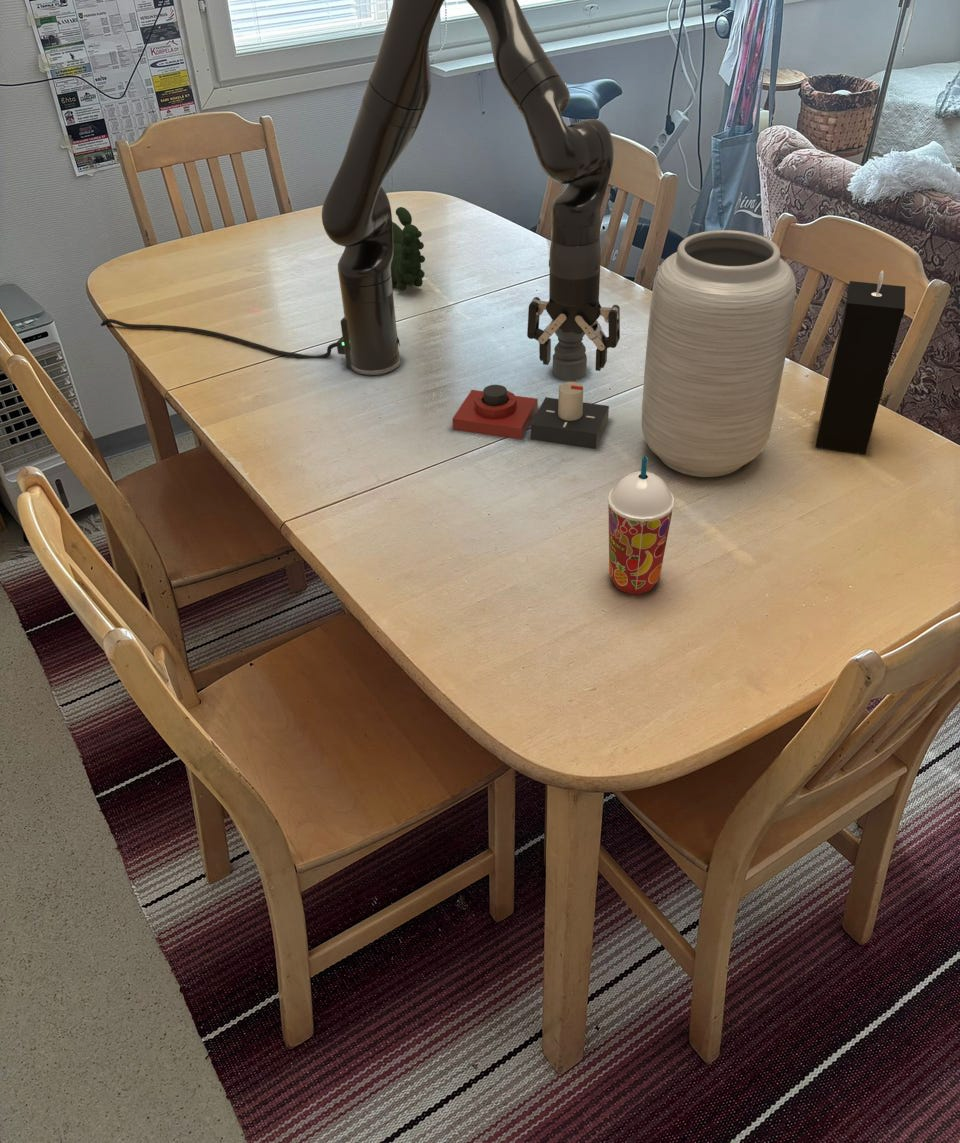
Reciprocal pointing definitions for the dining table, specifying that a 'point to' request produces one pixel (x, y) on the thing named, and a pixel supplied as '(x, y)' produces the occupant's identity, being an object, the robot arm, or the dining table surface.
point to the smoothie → (638, 530)
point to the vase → (716, 351)
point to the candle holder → (569, 356)
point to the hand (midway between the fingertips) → (572, 365)
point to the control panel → (569, 425)
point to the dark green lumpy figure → (406, 252)
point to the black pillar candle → (860, 365)
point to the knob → (570, 401)
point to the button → (495, 395)
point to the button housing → (496, 415)
